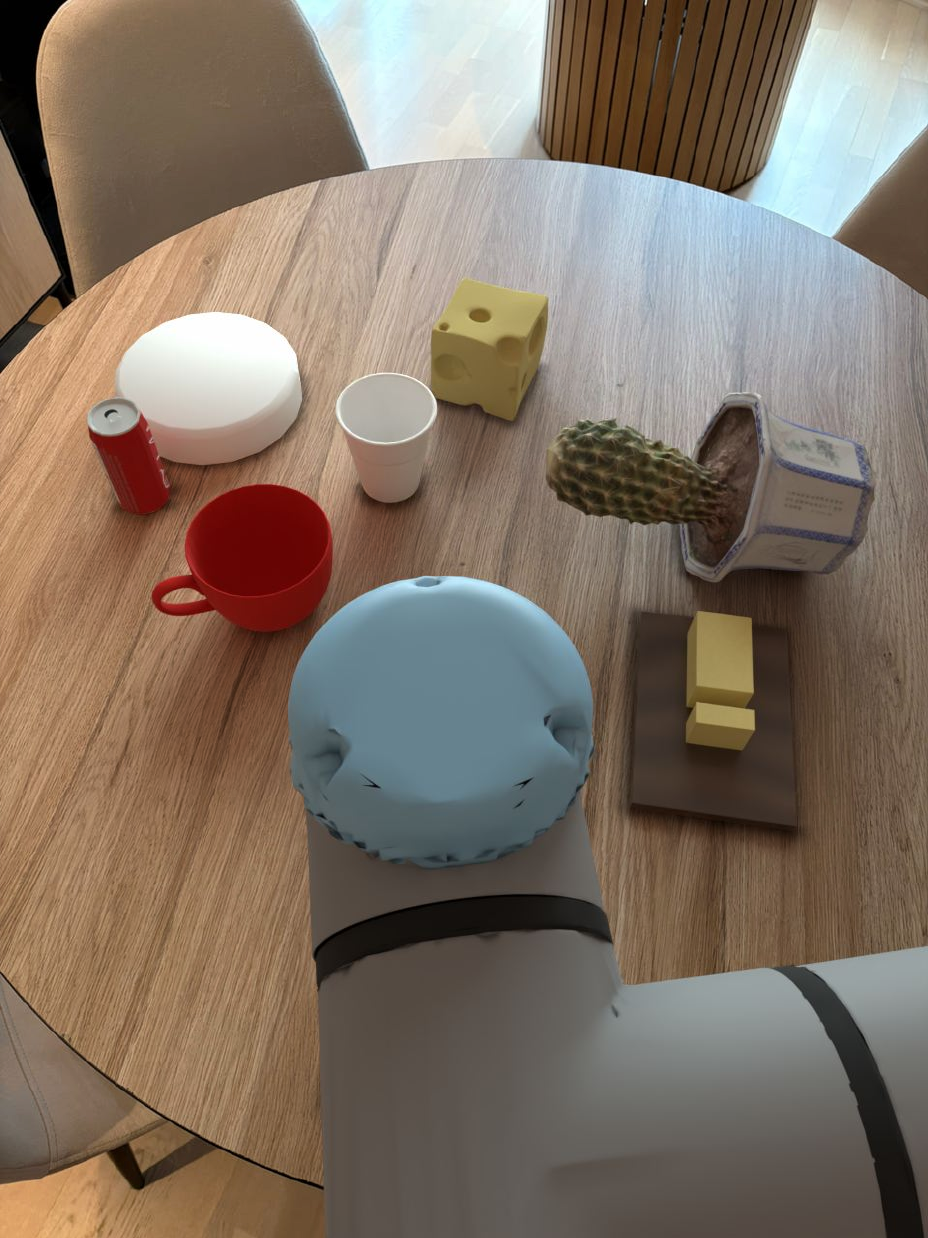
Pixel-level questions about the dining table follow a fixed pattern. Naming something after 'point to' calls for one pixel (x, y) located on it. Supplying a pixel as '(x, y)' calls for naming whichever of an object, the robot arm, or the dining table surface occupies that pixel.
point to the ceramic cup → (255, 558)
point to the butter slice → (720, 726)
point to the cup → (387, 432)
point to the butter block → (720, 660)
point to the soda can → (128, 455)
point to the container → (212, 386)
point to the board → (708, 775)
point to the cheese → (488, 347)
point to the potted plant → (726, 488)
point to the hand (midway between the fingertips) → (437, 1011)
